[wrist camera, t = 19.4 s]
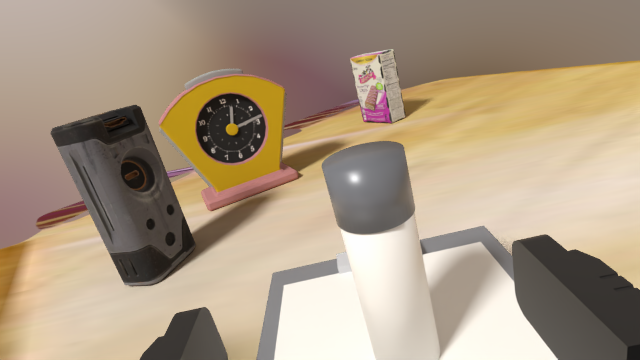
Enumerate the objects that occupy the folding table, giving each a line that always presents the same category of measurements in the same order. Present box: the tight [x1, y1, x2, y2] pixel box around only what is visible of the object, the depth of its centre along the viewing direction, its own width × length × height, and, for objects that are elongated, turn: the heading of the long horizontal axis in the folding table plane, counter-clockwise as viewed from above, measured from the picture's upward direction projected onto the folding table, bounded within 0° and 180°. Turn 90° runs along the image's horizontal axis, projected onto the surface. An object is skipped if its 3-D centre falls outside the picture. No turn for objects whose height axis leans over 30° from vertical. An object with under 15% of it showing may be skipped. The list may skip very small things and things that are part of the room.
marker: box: [322, 141, 440, 360], centre depth 24 cm, size 5×5×14 cm
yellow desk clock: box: [159, 69, 298, 211], centre depth 68 cm, size 22×9×22 cm, turn 114°
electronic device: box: [51, 105, 195, 286], centre depth 47 cm, size 9×6×20 cm, turn 164°
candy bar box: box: [350, 49, 405, 123], centre depth 94 cm, size 11×5×16 cm, turn 33°
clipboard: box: [256, 226, 558, 360], centre depth 26 cm, size 22×28×2 cm
